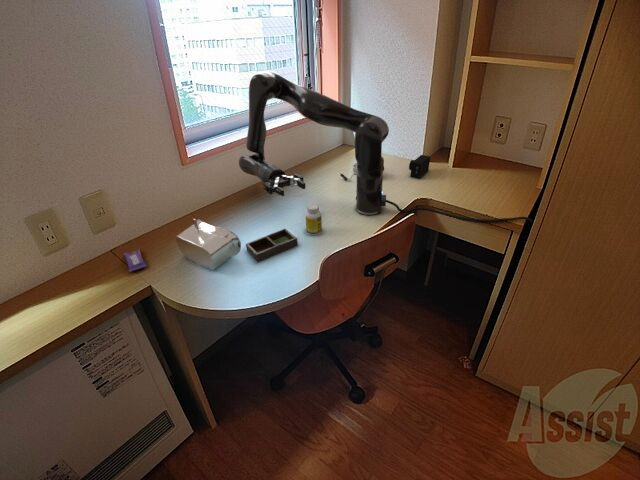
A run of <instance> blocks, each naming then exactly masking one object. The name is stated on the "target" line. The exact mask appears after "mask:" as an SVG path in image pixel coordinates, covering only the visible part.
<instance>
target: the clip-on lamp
mask: <svg viewBox="0 0 640 480" xmlns="http://www.w3.org/2000/svg"><path fill="white" fill-rule="evenodd" d="M384 171H385V166H384V167H383V172H384ZM352 172H353V173H352V175H351V177H350V179H348V177H347V176H346V175H344V173H340V172H339V175H340V177H341V178H342V179H343V180H345V181H348V182H349V181H351V180H352V178H353V176H357V162H355V163H354V164H353V165H352Z"/></svg>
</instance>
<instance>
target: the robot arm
mask: <svg viewBox="0 0 640 480" xmlns="http://www.w3.org/2000/svg"><path fill="white" fill-rule="evenodd" d="M273 99H277V100H280V101H283V102H285V103H288V104H290V105H291V106H292V107H294V109H295V110H296V111H297V112H298V114H300V115H301V116H302V117H304V118H306V119H308V120H309V121H311V122H314V123H315V124H319V125H321V126H326V127H332V128H340V129H345V130H347V131H350V132H353V133H354V157H355V158H354V159H355V161H356V163H357V173H356V174H357V175H356V193H355V195H356V196H355V211H356V212H357V213H358V214H360V215H364V216H375V215H377V214H378V215H379V214H381V213H382V207H386V206H387V205H386V203H387V204H389V205H392V206H394V207H395V208H396V209H397V210H398V212H401V213H409V212H414V211H427V212H432V213H435V214H439V215H443V216H447V217H451V218H454V219H459V220H465V221H470V222H479V223H495V222H496V223H497V222H509V221H518V220H525V221H528V222H529V223H531V224H532V223H534V221H533V219H531V218H530V217H527V216H516V217H505V218H504V217H502V218H494V219H491V218H489V219H487V218H473V217H466V216H461V215H456V214H453V213H448V212H444V211H440V210H436V209H433V208H429V207H423V206H420V207H413V208H410V209H402V208H400V206H399V205H398V204H397V203H396V202H393V201H392V200H388V199H387V194H383V183H384V182H383V181H384V171H383V167H384V168H385V158H384V157H383V156H382V152H383V151H382V149H383V147H382V146H383V142H384V141H385V140H386V139H387V138H388V136H389V132H390V129H389V125H388V123H387V122H386V121H385V119H383V117H380V116H378V115H374V114H371V113H368V112H364V111H361V110H358V109H355V108H353V107H351V106H349V105H347V104H345V103H342V102H340V101H337V100H335V99H333V98H331V97H329V96H327V95H324V94H322V93H320V92H317V91H315V90H312V89H310V88H308V87H305V86H303V85H301V84H297V83H295V82H293V81H291V80H289V79H287V78H286V77H284V76H282V75H281V74H279V73H277V72H275V71H273V70H265V71H264V70H263V71H261V72H257V73H254V74H253V75H252V76H251V77H250V78H249V83H248V128H247V135H246V141H245V148H246V149H247V151H250V152H251V153H246V154H242V155H241V156H240V157H239V159H238V166H239V168H240V170H241V171H242V172H243V173H245V174H247V175H251V176H255V177H257V178H258V179H260V181H262V187H263V190H264V191H265V192H266V193H268V194H269V195H272V194H273V193H274V194H277V195H279V196H282V197H284V196H285V190H284V189H283V188H285V187H292V188H293V187H298V188H299V189H302V190H305V189H306V182H305V180H304V176H302V175H301V174H298V173H297V172H292V175H289V174H286V172H285V171H284V170H283V169H281V168H279V167H278V166H276V165H275V164H273V163H270V162H268V161H267V160H266V158H265V157H266V156H265V143H266V139H267V138H266V137H267V125H266V120H265V110H266V106H267V103H268V101H269V100H273Z"/></svg>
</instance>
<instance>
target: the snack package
mask: <svg viewBox="0 0 640 480" xmlns="http://www.w3.org/2000/svg"><path fill="white" fill-rule="evenodd" d="M123 256H124V257H125V259H126V263H127V266H128V273H131V272H134V271H137V270H140V269H143V268H145V267H147V264H146V262H145V261H144V258H143V256H142V253H141V248H136V249H133V250H130V251H127V252H124V253H123Z"/></svg>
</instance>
